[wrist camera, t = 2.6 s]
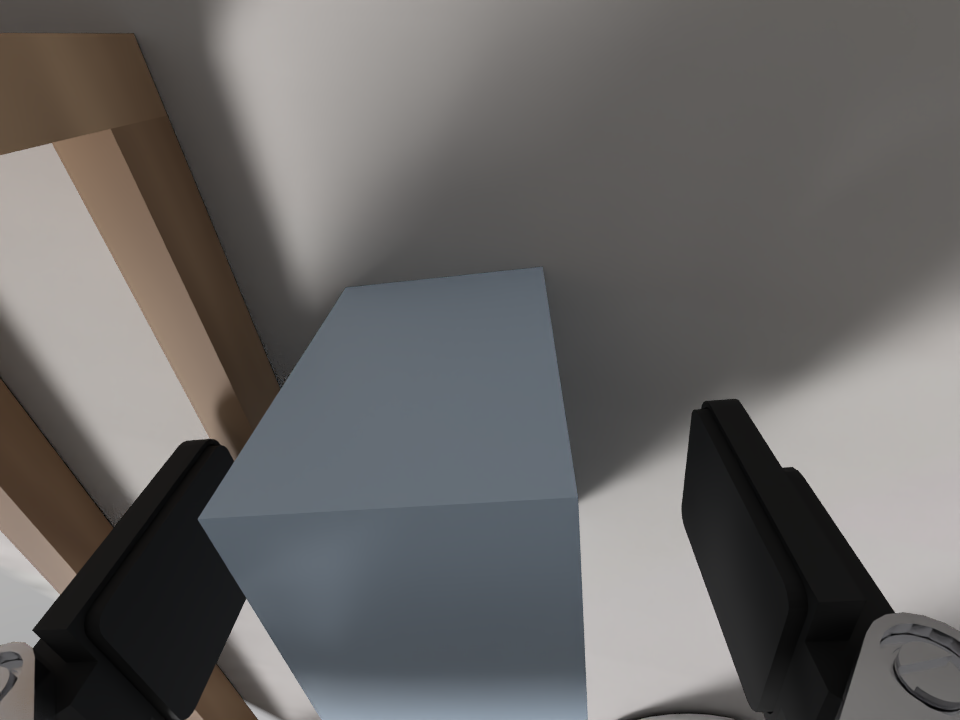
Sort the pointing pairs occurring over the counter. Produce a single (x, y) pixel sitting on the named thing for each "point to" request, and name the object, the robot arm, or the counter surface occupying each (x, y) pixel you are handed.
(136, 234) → the bottom track
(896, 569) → the counter surface
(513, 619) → the pale blue upright box
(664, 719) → the milk bottle
